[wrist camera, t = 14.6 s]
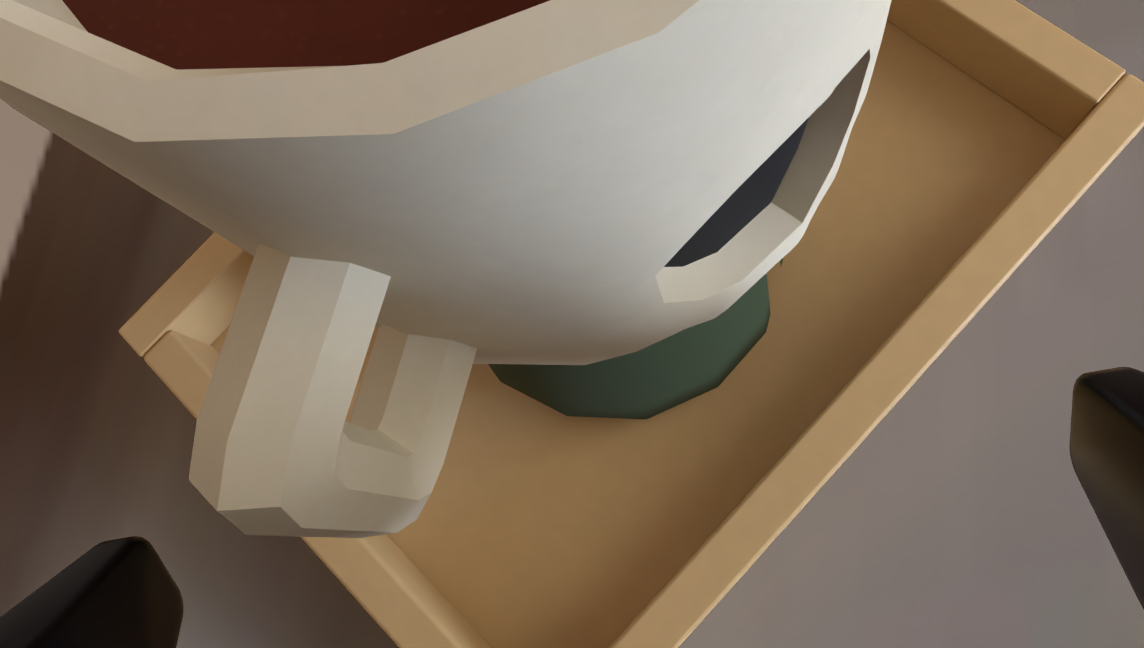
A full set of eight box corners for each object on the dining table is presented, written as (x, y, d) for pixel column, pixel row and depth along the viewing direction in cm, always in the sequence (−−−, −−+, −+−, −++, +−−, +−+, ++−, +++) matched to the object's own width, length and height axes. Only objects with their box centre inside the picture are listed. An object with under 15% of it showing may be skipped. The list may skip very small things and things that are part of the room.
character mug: (735, 598, 16) (766, 784, 3) (368, 493, 17) (-557, 351, 5) (857, 46, 18) (1160, -1119, 5) (521, -2, 19) (151, -992, 7)
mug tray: (1120, 147, 17) (1170, 96, 15) (559, 775, 16) (536, 806, 14) (665, -152, 20) (659, -225, 18) (176, 352, 19) (115, 331, 17)
